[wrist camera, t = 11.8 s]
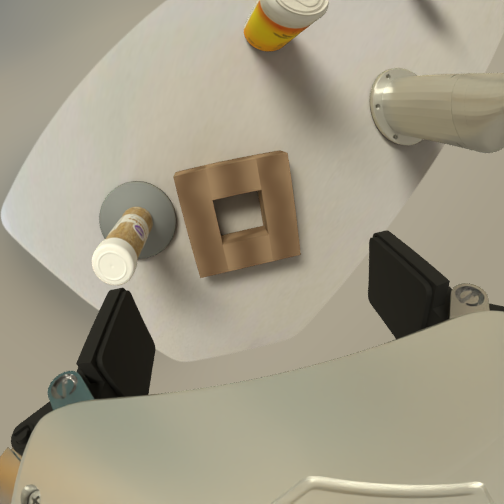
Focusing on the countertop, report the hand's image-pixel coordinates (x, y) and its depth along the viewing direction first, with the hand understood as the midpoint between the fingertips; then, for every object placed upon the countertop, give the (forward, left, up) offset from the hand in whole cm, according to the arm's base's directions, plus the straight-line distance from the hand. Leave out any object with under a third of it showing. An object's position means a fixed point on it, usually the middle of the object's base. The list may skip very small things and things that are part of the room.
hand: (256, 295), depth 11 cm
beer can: (-10, -18, -31) cm, 37 cm away
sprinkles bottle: (+12, +4, -30) cm, 32 cm away
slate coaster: (+12, +4, -31) cm, 33 cm away
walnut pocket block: (-2, +6, -31) cm, 31 cm away
